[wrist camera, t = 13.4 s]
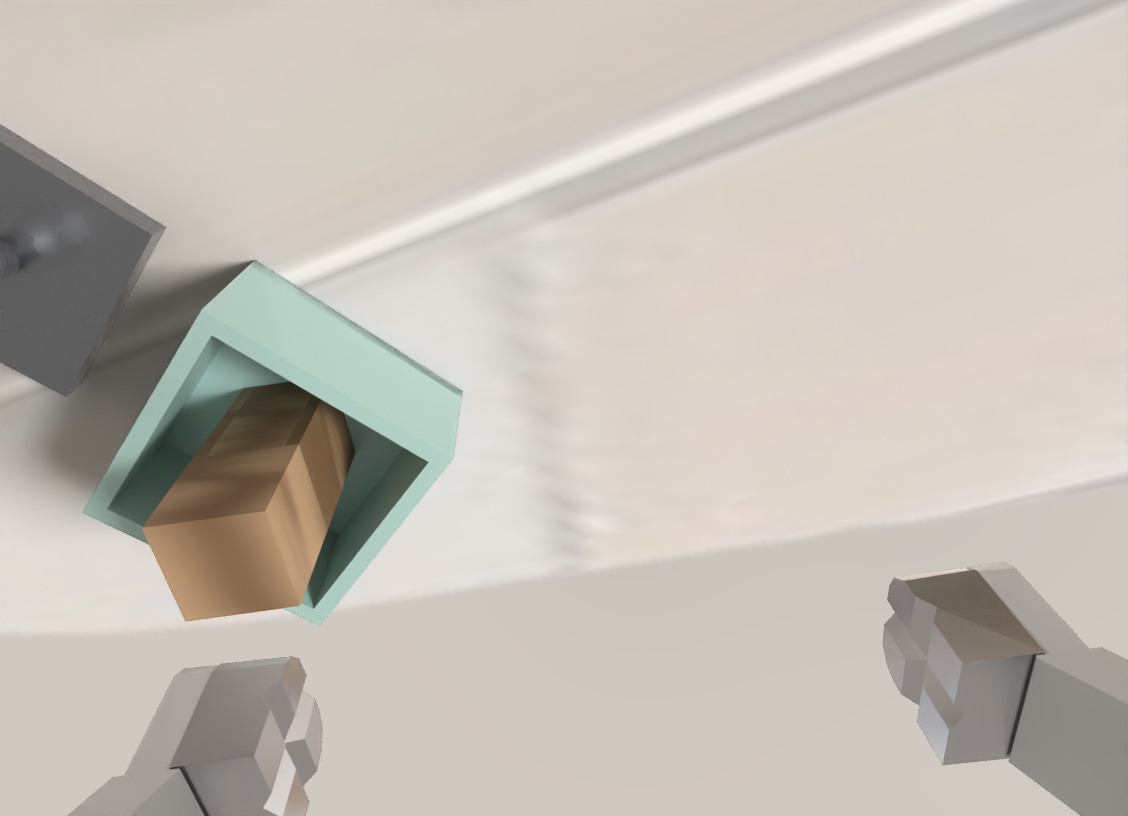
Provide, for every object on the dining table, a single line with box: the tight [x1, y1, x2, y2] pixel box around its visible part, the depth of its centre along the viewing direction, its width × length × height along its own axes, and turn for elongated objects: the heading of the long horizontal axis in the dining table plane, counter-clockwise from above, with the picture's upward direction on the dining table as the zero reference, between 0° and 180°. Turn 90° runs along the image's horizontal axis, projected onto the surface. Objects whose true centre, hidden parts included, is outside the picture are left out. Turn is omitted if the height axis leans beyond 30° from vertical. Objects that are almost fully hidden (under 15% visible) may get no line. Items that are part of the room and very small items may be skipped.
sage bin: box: [82, 260, 462, 626], centre depth 37 cm, size 12×12×7 cm
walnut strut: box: [142, 382, 355, 622], centre depth 34 cm, size 5×5×12 cm
